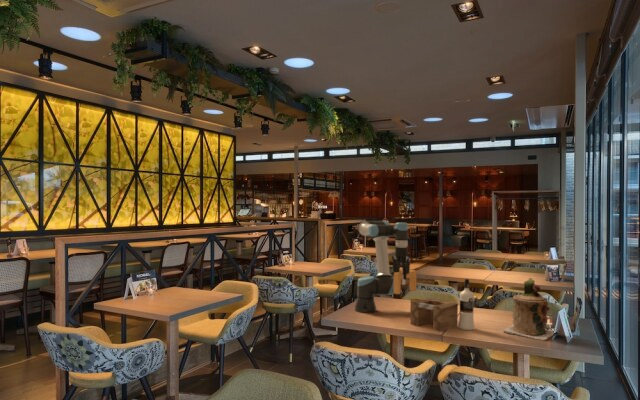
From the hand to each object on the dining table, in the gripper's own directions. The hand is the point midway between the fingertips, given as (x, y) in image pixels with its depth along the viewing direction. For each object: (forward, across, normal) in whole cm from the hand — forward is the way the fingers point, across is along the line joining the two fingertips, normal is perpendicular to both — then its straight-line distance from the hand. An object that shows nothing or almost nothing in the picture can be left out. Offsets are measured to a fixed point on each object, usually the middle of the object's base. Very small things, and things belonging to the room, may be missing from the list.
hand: (400, 283), depth 291 cm
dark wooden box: (+24, +17, +12) cm, 32 cm away
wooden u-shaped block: (+6, 0, +4) cm, 7 cm away
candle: (+25, -7, +28) cm, 38 cm away
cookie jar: (+25, +63, +42) cm, 80 cm away
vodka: (+25, +34, +20) cm, 47 cm away
